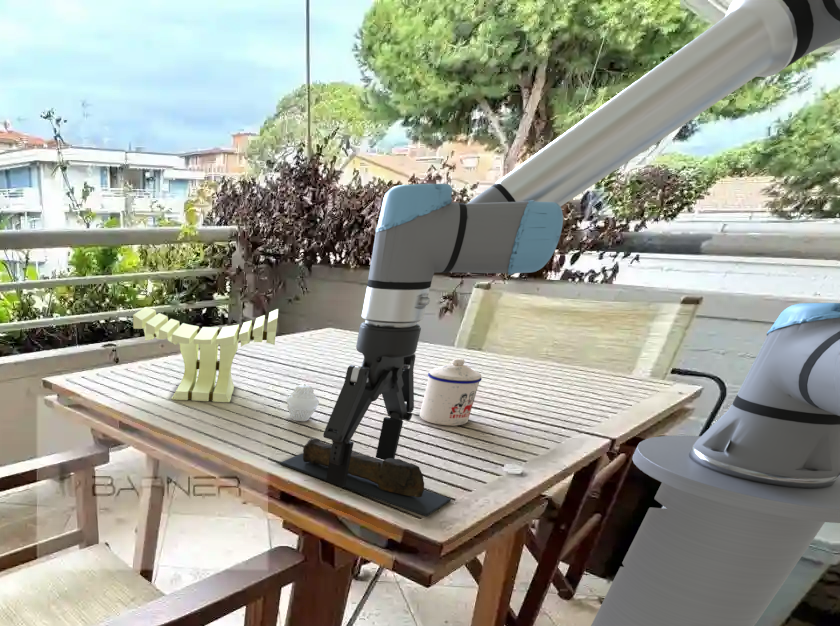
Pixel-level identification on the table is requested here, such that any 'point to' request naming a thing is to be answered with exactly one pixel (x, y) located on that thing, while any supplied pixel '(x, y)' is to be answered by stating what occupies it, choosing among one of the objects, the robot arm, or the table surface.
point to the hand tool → (372, 469)
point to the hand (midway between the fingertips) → (361, 471)
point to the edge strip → (373, 488)
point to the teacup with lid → (450, 394)
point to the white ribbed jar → (302, 403)
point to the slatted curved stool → (205, 351)
